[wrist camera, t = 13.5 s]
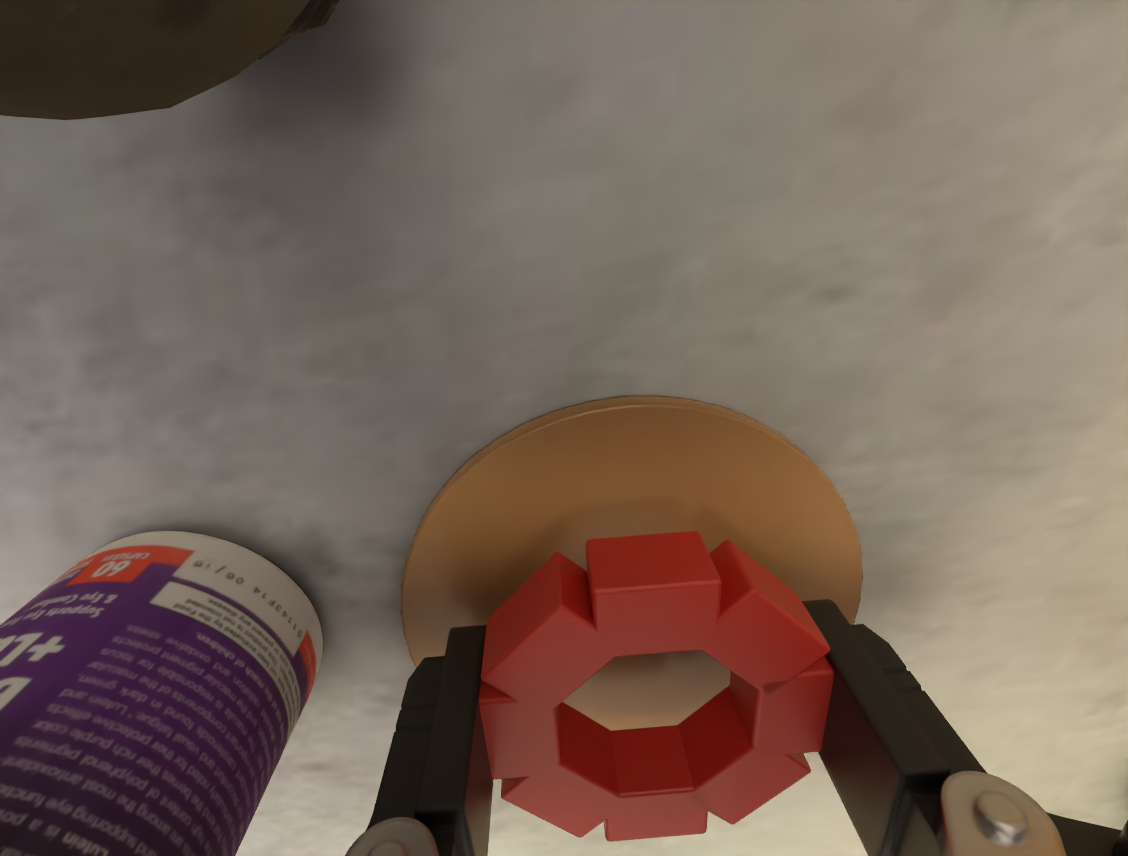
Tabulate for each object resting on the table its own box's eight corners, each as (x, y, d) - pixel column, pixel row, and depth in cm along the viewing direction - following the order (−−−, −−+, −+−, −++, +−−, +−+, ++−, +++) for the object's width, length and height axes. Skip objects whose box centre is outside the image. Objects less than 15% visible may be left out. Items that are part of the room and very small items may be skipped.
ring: (463, 546, 10) (452, 602, 8) (818, 518, 10) (861, 569, 8) (502, 782, 12) (498, 853, 11) (785, 759, 12) (814, 826, 11)
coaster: (362, 414, 11) (353, 425, 10) (886, 376, 11) (902, 384, 10) (441, 769, 15) (438, 788, 14) (823, 739, 15) (832, 757, 14)
